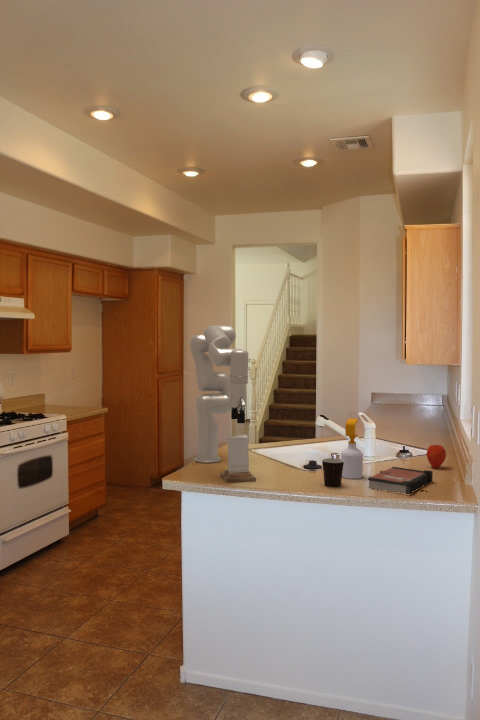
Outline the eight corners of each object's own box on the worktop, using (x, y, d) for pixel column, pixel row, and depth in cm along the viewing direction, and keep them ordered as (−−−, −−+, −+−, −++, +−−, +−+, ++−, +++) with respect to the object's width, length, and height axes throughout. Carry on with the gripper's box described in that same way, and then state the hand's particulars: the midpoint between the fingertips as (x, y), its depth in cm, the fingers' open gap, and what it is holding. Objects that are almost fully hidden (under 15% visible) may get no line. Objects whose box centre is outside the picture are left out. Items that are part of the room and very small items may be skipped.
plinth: (220, 476, 251) (220, 469, 251) (247, 474, 254) (248, 467, 254) (227, 482, 239) (227, 475, 239) (255, 481, 242) (255, 474, 242)
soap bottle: (365, 475, 254) (366, 418, 253) (358, 480, 246) (359, 421, 245) (345, 473, 258) (346, 417, 257) (337, 477, 250) (338, 419, 249)
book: (391, 477, 254) (391, 465, 254) (432, 483, 244) (432, 471, 244) (365, 489, 233) (366, 476, 233) (409, 496, 223) (409, 483, 223)
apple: (438, 471, 264) (439, 446, 264) (422, 467, 271) (422, 444, 270) (449, 468, 270) (449, 444, 269) (432, 465, 276) (433, 442, 276)
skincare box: (246, 469, 250) (247, 434, 249) (249, 473, 244) (249, 437, 243) (227, 470, 249) (227, 434, 248) (228, 473, 243) (229, 437, 242)
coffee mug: (326, 481, 243) (327, 457, 242) (346, 484, 238) (347, 459, 238) (315, 487, 233) (315, 462, 232) (335, 490, 228) (336, 465, 228)
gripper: (225, 378, 252) (224, 418, 253) (235, 382, 236) (234, 425, 237) (242, 377, 254) (241, 417, 255) (253, 382, 238) (252, 424, 239)
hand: (237, 421), depth 246 cm, fingers open, 9 cm apart
